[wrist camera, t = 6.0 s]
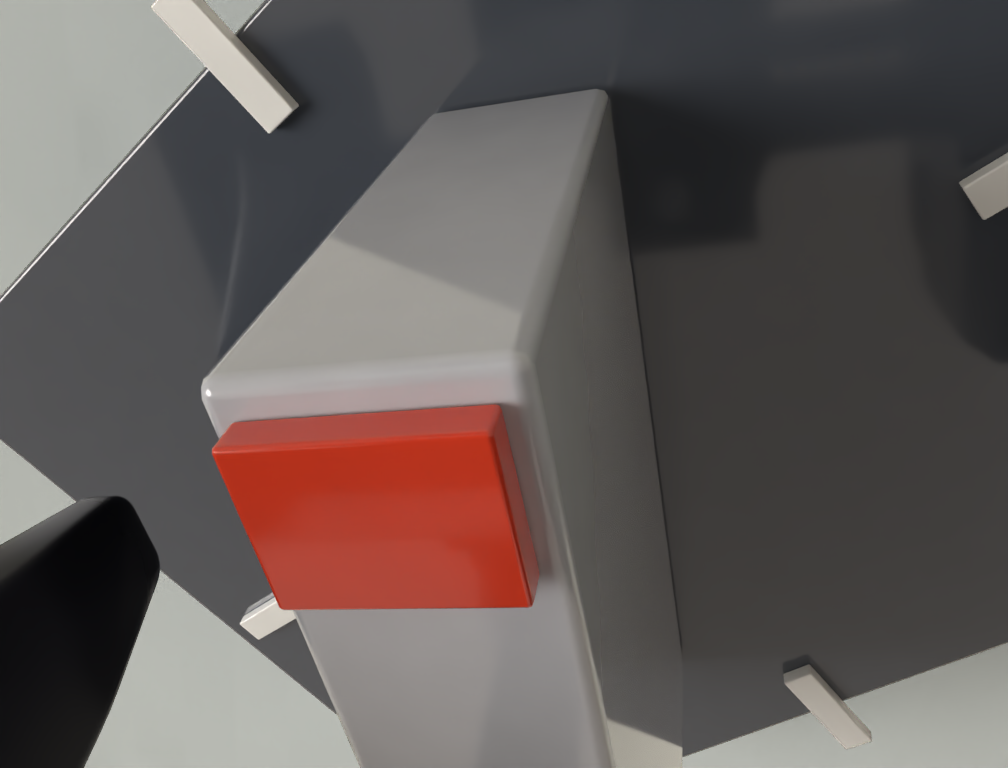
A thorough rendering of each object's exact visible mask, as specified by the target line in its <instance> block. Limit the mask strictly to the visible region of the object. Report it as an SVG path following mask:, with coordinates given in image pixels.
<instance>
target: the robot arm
mask: <svg viewBox="0 0 1008 768" xmlns="http://www.w3.org/2000/svg"><path fill="white" fill-rule="evenodd" d="M159 572H160V561H159V556H158V553H157V551H156V549H155V547H154V545H153V543H152V541H151V539H150V537H149V535H148V533H147V531H146V530H145V528H144V526H143V524H142V522H141V520H140V518H139V516H138V514H137V512H136V510H135V508H134V507H133V505H132V504H131V503H130V502H129V501H128V500H127V499H126V498H124V497H121V496H99V497H88V498H84V499H82V500H79V501H78V502H76V503H74V504H72V505H71V506H69V507H67V508H65V509H63V510H62V511H60V512H58V513H56V514H55V515H53V516H51V517H49V518H47V519H46V520H44V521H42V522H40V523H39V524H37V525H35V526H33V527H31V528H30V529H28V530H26V531H24V532H23V533H21V534H19V535H17V536H15V537H14V538H12V539H10V540H8V541H7V542H5V543H3V544H1V545H0V768H84V766H85V764H86V762H87V760H88V758H89V756H90V754H91V751H92V749H93V747H94V745H95V743H96V741H97V739H98V737H99V734H100V732H101V730H102V728H103V726H104V723H105V721H106V719H107V717H108V714H109V712H110V710H111V707H112V704H113V702H114V699H115V697H116V694H117V692H118V689H119V686H120V684H121V681H122V678H123V675H124V672H125V670H126V667H127V664H128V661H129V659H130V656H131V653H132V650H133V648H134V645H135V642H136V639H137V637H138V634H139V631H140V628H141V625H142V623H143V620H144V617H145V614H146V612H147V609H148V606H149V603H150V601H151V598H152V595H153V592H154V590H155V587H156V584H157V581H158V578H159Z"/></svg>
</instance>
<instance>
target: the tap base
mask: <svg viewBox="0 0 1008 768" xmlns="http://www.w3.org/2000/svg"><path fill="white" fill-rule="evenodd" d="M151 9H152V10H153V11H154V12H155V13H156V14H157V15H158V16H159V17H160V18H161V19H162V20H163V21H164V22H165V24H166V25H167V26H168V27H169V28H170V29H171V30H172V31H173V32H174V33H175V34H176V35H177V36H178V37H179V38H180V40H181V41H182V42H183V43H184V44H185V45H186V46H187V47H188V48H189V49H190V50H191V51H192V52H193V53H194V54H195V56H196V57H197V58H198V59H199V60H200V61H201V62H202V63H203V64H204V65H205V66H206V67H205V68H204V69H203V70H202V71H201V72H200V73H199V75H198V76H197V77H196V78H195V79H194V80H193V81H192V82H191V83H190V85H189V86H188V87H187V88H186V89H185V90H184V91H183V92H182V93H181V95H180V96H179V97H178V98H177V99H176V100H175V101H174V102H173V104H172V105H171V106H170V107H169V108H168V109H167V110H166V111H165V112H164V114H163V115H162V116H161V117H160V118H159V119H158V120H157V121H156V123H155V124H154V125H153V126H152V127H151V128H150V129H149V130H148V131H147V133H146V134H145V135H144V136H143V137H142V138H141V139H140V140H139V142H138V143H137V144H136V145H135V146H134V147H133V148H132V149H131V150H130V152H129V153H128V154H127V155H126V156H125V157H124V158H123V159H122V161H121V162H120V163H119V164H118V165H117V166H116V167H115V168H114V169H113V171H112V172H111V173H110V174H109V175H108V176H107V177H106V178H105V180H104V181H103V182H102V183H101V184H100V185H99V186H98V187H97V188H96V190H95V191H94V192H93V193H92V194H91V195H90V196H89V197H88V198H87V200H86V201H85V202H84V203H83V204H82V205H81V206H80V207H79V209H78V210H77V211H76V212H75V213H74V214H73V215H72V216H71V217H70V219H69V220H68V221H67V222H66V223H65V224H64V225H63V226H62V228H61V229H60V230H59V231H58V232H57V233H56V234H55V235H54V236H53V238H52V239H51V240H50V241H49V242H48V243H47V244H46V245H45V247H44V248H43V249H42V250H41V251H40V252H39V253H38V254H37V255H36V257H35V258H34V259H33V260H32V261H31V262H30V263H29V264H28V266H27V267H26V268H25V269H24V270H23V271H22V272H21V273H20V274H19V276H18V277H17V278H16V279H15V280H14V281H13V282H12V283H11V284H10V286H9V287H8V288H7V289H6V290H5V291H4V292H3V293H2V295H1V296H0V440H2V441H3V442H4V443H5V444H6V445H8V446H9V447H10V448H11V449H13V450H14V451H15V452H16V453H17V454H19V455H20V456H21V457H22V458H24V459H25V460H26V461H27V462H28V463H30V464H31V465H32V466H33V467H35V468H36V469H37V470H38V471H39V472H41V473H42V474H43V475H44V476H46V477H47V478H48V479H49V480H50V481H52V482H53V483H54V484H55V485H57V486H58V487H59V488H60V489H61V490H63V491H64V492H65V493H66V494H68V495H69V496H70V497H71V498H72V499H74V500H75V501H76V502H78V501H79V500H82V499H84V498H88V497H99V496H121V497H124V498H126V499H127V500H128V501H129V502H130V503H131V504H132V505H133V507H134V508H135V510H136V512H137V514H138V516H139V518H140V520H141V522H142V524H143V526H144V528H145V530H146V531H147V533H148V535H149V537H150V539H151V541H152V543H153V545H154V547H155V549H156V551H157V553H158V556H159V561H160V571H162V572H163V573H164V574H165V575H167V576H168V577H169V578H170V579H171V580H173V581H174V582H175V583H176V584H178V585H179V586H180V587H181V588H182V589H184V590H185V591H186V592H187V593H189V594H190V595H191V596H192V597H193V598H195V599H196V600H197V601H198V602H200V603H201V604H202V605H203V606H204V607H206V608H207V609H208V610H209V611H211V612H212V613H213V614H214V615H215V616H217V617H218V618H219V619H220V620H222V621H223V622H224V623H225V624H226V625H228V626H229V627H230V628H231V629H233V630H234V631H235V632H236V633H238V634H239V635H240V636H241V637H242V638H244V639H245V640H246V641H247V642H249V643H250V644H251V645H252V646H253V647H255V648H256V649H257V650H258V651H260V652H261V653H262V654H263V655H264V656H266V657H267V658H268V659H269V660H271V661H272V662H273V663H274V664H275V665H277V666H278V667H279V668H280V669H282V670H283V671H284V672H285V673H286V674H288V675H289V676H290V677H291V678H293V679H294V680H295V681H296V682H297V683H299V684H300V685H301V686H302V687H304V688H305V689H306V690H307V691H308V692H310V693H311V694H312V695H313V696H315V697H316V698H317V699H318V700H319V701H321V702H322V703H323V704H324V705H326V706H327V707H328V708H329V709H330V710H332V711H333V712H334V713H335V714H337V713H336V710H335V708H334V706H333V703H332V701H331V699H330V696H329V694H328V692H327V689H326V687H325V685H324V682H323V680H322V678H321V675H320V673H319V671H318V668H317V666H316V664H315V661H314V659H313V657H312V654H311V652H310V650H309V647H308V645H307V643H306V640H305V638H304V636H303V633H302V631H301V629H300V626H299V624H298V622H297V619H296V617H295V615H294V613H293V610H282V609H281V608H279V606H278V603H277V601H276V599H275V596H274V594H273V592H272V590H271V587H270V585H269V583H268V581H267V578H266V576H265V574H264V571H263V569H262V567H261V565H260V562H259V560H258V558H257V555H256V553H255V551H254V549H253V546H252V544H251V542H250V540H249V537H248V535H247V533H246V530H245V528H244V526H243V524H242V521H241V519H240V517H239V514H238V512H237V510H236V508H235V505H234V503H233V501H232V499H231V496H230V494H229V492H228V489H227V487H226V485H225V483H224V480H223V478H222V476H221V473H220V471H219V469H218V467H217V464H216V462H215V460H214V458H213V455H212V448H213V446H214V445H215V444H216V442H217V441H218V440H219V438H218V436H217V433H216V431H215V429H214V426H213V424H212V422H211V419H210V417H209V415H208V412H207V410H206V408H205V405H204V403H203V401H202V393H201V386H202V382H203V379H204V377H205V376H206V375H207V374H208V373H209V372H210V370H211V369H212V368H213V367H214V366H215V365H216V364H217V362H218V361H219V360H220V359H221V358H222V357H223V355H224V354H225V353H226V352H227V351H228V350H229V348H230V347H231V346H232V345H233V344H234V343H235V341H236V340H237V339H238V338H239V337H240V336H241V334H242V333H243V332H244V331H245V330H246V329H247V328H248V326H249V325H250V324H251V323H252V322H253V321H254V319H255V318H256V317H257V316H258V315H259V314H260V312H261V311H262V310H263V309H264V308H265V307H266V305H267V304H268V303H269V302H270V301H271V300H272V299H273V297H274V296H275V295H276V294H277V293H278V292H279V290H280V289H281V288H282V287H283V286H284V285H285V283H286V282H287V281H288V280H289V279H290V278H291V276H292V275H293V274H294V273H295V272H296V271H297V269H298V268H299V267H300V266H301V265H302V264H303V263H304V261H305V260H306V259H307V258H308V257H309V256H310V254H311V253H312V252H313V251H314V250H315V249H316V247H317V246H318V245H319V244H320V243H321V242H322V240H323V239H324V238H325V237H326V236H327V235H328V233H329V232H330V231H331V230H332V229H333V228H334V227H335V225H336V224H337V223H338V222H339V221H340V220H341V218H342V217H343V216H344V215H345V214H346V213H347V211H348V210H349V209H350V208H351V207H352V206H353V204H354V203H355V202H356V201H357V200H358V199H359V197H360V196H361V195H362V194H363V193H364V192H365V191H366V189H367V188H368V187H369V186H370V185H371V184H372V182H373V181H374V180H375V179H376V178H377V177H378V175H379V174H380V173H381V172H382V171H383V170H384V168H385V167H386V166H387V165H388V164H389V163H390V161H391V160H392V159H393V158H394V157H395V156H396V155H397V153H398V152H399V151H400V150H401V149H402V148H403V146H404V145H405V144H406V143H407V142H408V141H409V139H410V138H411V137H412V136H413V135H414V134H415V132H416V131H417V130H418V129H419V128H420V127H421V125H422V124H423V123H424V122H425V121H426V120H427V119H428V118H429V117H430V116H432V115H433V114H436V113H442V112H449V111H455V110H462V109H468V108H475V107H481V106H488V105H494V104H501V103H507V102H513V101H520V100H526V99H533V98H539V97H546V96H552V95H559V94H565V93H572V92H578V91H585V90H591V89H599V90H603V91H605V92H606V94H607V95H608V97H609V99H610V107H611V115H612V123H613V130H614V138H615V146H616V153H617V161H618V169H619V176H620V184H621V192H622V200H623V207H624V215H625V223H626V230H627V238H628V246H629V253H630V261H631V269H632V277H633V284H634V292H635V300H636V307H637V315H638V323H639V330H640V338H641V346H642V354H643V361H644V369H645V377H646V384H647V392H648V400H649V407H650V415H651V423H652V431H653V438H654V446H655V454H656V461H657V469H658V477H659V484H660V492H661V500H662V508H663V515H664V523H665V531H666V538H667V546H668V554H669V561H670V569H671V577H672V585H673V592H674V600H675V608H676V615H677V623H678V631H679V638H680V646H681V654H682V662H683V729H682V757H685V756H688V755H691V754H693V753H696V752H699V751H702V750H705V749H708V748H710V747H713V746H716V745H719V744H722V743H725V742H728V741H730V740H733V739H736V738H739V737H742V736H745V735H747V734H750V733H753V732H756V731H759V730H762V729H765V728H767V727H770V726H773V725H776V724H779V723H782V722H784V721H787V720H790V719H793V718H796V717H799V716H801V715H804V714H807V713H810V712H811V713H812V714H813V715H814V716H815V717H816V718H817V719H818V720H819V721H820V722H821V723H822V724H823V725H824V726H825V728H826V729H827V730H828V731H829V732H830V733H831V734H832V735H833V736H834V737H835V738H836V739H837V740H838V741H839V742H840V744H841V745H842V746H843V747H844V748H845V749H850V748H853V747H856V746H859V745H862V744H865V743H868V742H871V741H872V737H871V732H870V730H869V729H868V728H867V727H866V726H865V725H864V723H863V722H862V721H861V720H860V719H859V718H858V717H857V716H856V715H855V714H854V712H853V711H852V710H851V709H850V708H849V707H848V706H847V705H846V704H845V703H844V702H843V701H844V700H847V699H850V698H853V697H855V696H858V695H861V694H864V693H867V692H870V691H873V690H875V689H878V688H881V687H884V686H887V685H890V684H892V683H895V682H898V681H901V680H904V679H907V678H910V677H912V676H915V675H918V674H921V673H924V672H927V671H929V670H932V669H935V668H938V667H941V666H944V665H946V664H949V663H952V662H955V661H958V660H961V659H964V658H966V657H969V656H972V655H975V654H978V653H981V652H983V651H986V650H989V649H992V648H995V647H998V646H1001V645H1003V644H1006V643H1008V0H265V1H264V2H263V3H262V4H261V5H260V6H259V7H258V9H257V10H256V11H255V12H254V13H253V14H252V15H251V16H250V18H249V19H248V20H247V21H246V22H245V23H244V24H243V25H242V26H241V28H240V29H239V30H238V31H237V32H236V33H235V34H234V33H233V32H232V31H231V30H230V29H229V27H228V26H227V25H226V24H225V23H224V22H223V21H222V20H221V19H220V18H219V16H218V15H217V14H216V13H215V12H214V11H213V10H212V9H211V8H210V7H209V6H208V4H207V3H206V2H205V1H204V0H156V1H155V2H154V3H153V4H152V6H151Z"/></svg>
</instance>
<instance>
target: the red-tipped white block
mask: <svg viewBox="0 0 1008 768" xmlns="http://www.w3.org/2000/svg"><path fill="white" fill-rule="evenodd" d="M201 393H202V401H203V403H204V405H205V408H206V410H207V412H208V415H209V417H210V419H211V422H212V424H213V426H214V429H215V431H216V433H217V436H218V438H219V440H218V441H217V442H216V444H215V445H214V446H213V448H212V455H213V458H214V460H215V462H216V464H217V467H218V469H219V471H220V473H221V476H222V478H223V480H224V483H225V485H226V487H227V489H228V492H229V494H230V496H231V499H232V501H233V503H234V505H235V508H236V510H237V512H238V514H239V517H240V519H241V521H242V524H243V526H244V528H245V530H246V533H247V535H248V537H249V540H250V542H251V544H252V546H253V549H254V551H255V553H256V555H257V558H258V560H259V562H260V565H261V567H262V569H263V571H264V574H265V576H266V578H267V581H268V583H269V585H270V587H271V590H272V592H273V594H274V596H275V599H276V601H277V603H278V606H279V608H281V609H282V610H293V613H294V615H295V617H296V619H297V622H298V624H299V626H300V629H301V631H302V633H303V636H304V638H305V640H306V643H307V645H308V647H309V650H310V652H311V654H312V657H313V659H314V661H315V664H316V666H317V668H318V671H319V673H320V675H321V678H322V680H323V682H324V685H325V687H326V689H327V692H328V694H329V696H330V699H331V701H332V703H333V706H334V708H335V710H336V713H337V715H338V717H339V720H340V722H341V724H342V727H343V729H344V731H345V734H346V736H347V738H348V741H349V743H350V745H351V747H352V750H353V752H354V754H355V757H356V759H357V761H358V764H359V766H360V768H682V729H683V662H682V654H681V646H680V638H679V631H678V623H677V615H676V608H675V600H674V592H673V585H672V577H671V569H670V561H669V554H668V546H667V538H666V531H665V523H664V515H663V508H662V500H661V492H660V484H659V477H658V469H657V461H656V454H655V446H654V438H653V431H652V423H651V415H650V407H649V400H648V392H647V384H646V377H645V369H644V361H643V354H642V346H641V338H640V330H639V323H638V315H637V307H636V300H635V292H634V284H633V277H632V269H631V261H630V253H629V246H628V238H627V230H626V223H625V215H624V207H623V200H622V192H621V184H620V176H619V169H618V161H617V153H616V146H615V138H614V130H613V123H612V115H611V107H610V99H609V97H608V95H607V94H606V92H605V91H603V90H599V89H591V90H585V91H578V92H572V93H565V94H559V95H552V96H546V97H539V98H533V99H526V100H520V101H513V102H507V103H501V104H494V105H488V106H481V107H475V108H468V109H462V110H455V111H449V112H442V113H436V114H433V115H432V116H430V117H429V118H428V119H427V120H426V121H425V122H424V123H423V124H422V125H421V127H420V128H419V129H418V130H417V131H416V132H415V134H414V135H413V136H412V137H411V138H410V139H409V141H408V142H407V143H406V144H405V145H404V146H403V148H402V149H401V150H400V151H399V152H398V153H397V155H396V156H395V157H394V158H393V159H392V160H391V161H390V163H389V164H388V165H387V166H386V167H385V168H384V170H383V171H382V172H381V173H380V174H379V175H378V177H377V178H376V179H375V180H374V181H373V182H372V184H371V185H370V186H369V187H368V188H367V189H366V191H365V192H364V193H363V194H362V195H361V196H360V197H359V199H358V200H357V201H356V202H355V203H354V204H353V206H352V207H351V208H350V209H349V210H348V211H347V213H346V214H345V215H344V216H343V217H342V218H341V220H340V221H339V222H338V223H337V224H336V225H335V227H334V228H333V229H332V230H331V231H330V232H329V233H328V235H327V236H326V237H325V238H324V239H323V240H322V242H321V243H320V244H319V245H318V246H317V247H316V249H315V250H314V251H313V252H312V253H311V254H310V256H309V257H308V258H307V259H306V260H305V261H304V263H303V264H302V265H301V266H300V267H299V268H298V269H297V271H296V272H295V273H294V274H293V275H292V276H291V278H290V279H289V280H288V281H287V282H286V283H285V285H284V286H283V287H282V288H281V289H280V290H279V292H278V293H277V294H276V295H275V296H274V297H273V299H272V300H271V301H270V302H269V303H268V304H267V305H266V307H265V308H264V309H263V310H262V311H261V312H260V314H259V315H258V316H257V317H256V318H255V319H254V321H253V322H252V323H251V324H250V325H249V326H248V328H247V329H246V330H245V331H244V332H243V333H242V334H241V336H240V337H239V338H238V339H237V340H236V341H235V343H234V344H233V345H232V346H231V347H230V348H229V350H228V351H227V352H226V353H225V354H224V355H223V357H222V358H221V359H220V360H219V361H218V362H217V364H216V365H215V366H214V367H213V368H212V369H211V370H210V372H209V373H208V374H207V375H206V376H205V377H204V379H203V382H202V386H201Z"/></svg>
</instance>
